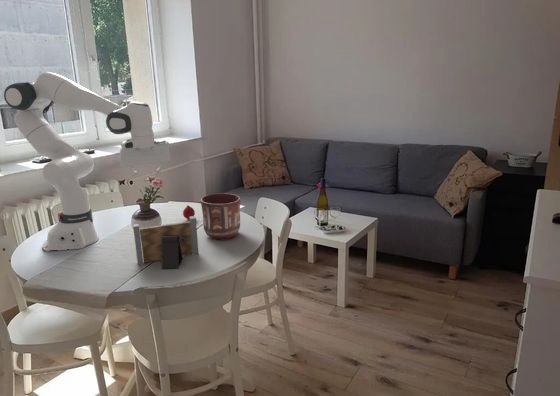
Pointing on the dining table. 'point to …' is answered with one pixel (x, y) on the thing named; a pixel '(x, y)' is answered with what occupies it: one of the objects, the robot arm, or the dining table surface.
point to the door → (153, 239)
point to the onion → (188, 212)
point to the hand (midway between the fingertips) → (146, 174)
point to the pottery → (221, 215)
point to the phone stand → (171, 252)
